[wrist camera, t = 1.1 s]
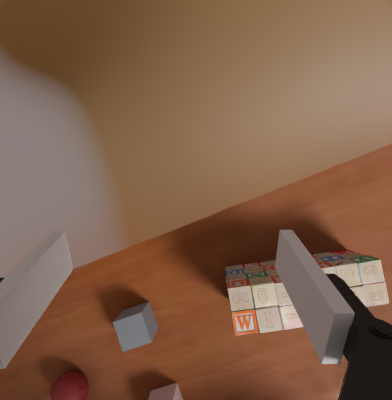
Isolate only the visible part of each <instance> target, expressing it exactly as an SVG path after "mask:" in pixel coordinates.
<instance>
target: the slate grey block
mask: <svg viewBox="0 0 392 400" xmlns="http://www.w3.org/2000/svg"><path fill="white" fill-rule="evenodd" d="M113 324H114V327H115V330H116V333H117V336H118V339H119V342H120V345H121V348H122V351H123V352H124V351H127V350H130V349H133V348H136V347H139V346H142V345H145V344H148V343H151V342H152V340H153V338H154V336H155V334H156V332H157V330H158V326H157V323H156V320H155V317H154V314H153V311H152V309H151V306H150V303H149V302H146V303H143V304H140V305H137V306H134V307H131V308H128V309H125V310H123V311H122V312H121V314H120V315H119V316H118V317H117V318H116V319H115V320H114V321H113Z"/></svg>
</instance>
